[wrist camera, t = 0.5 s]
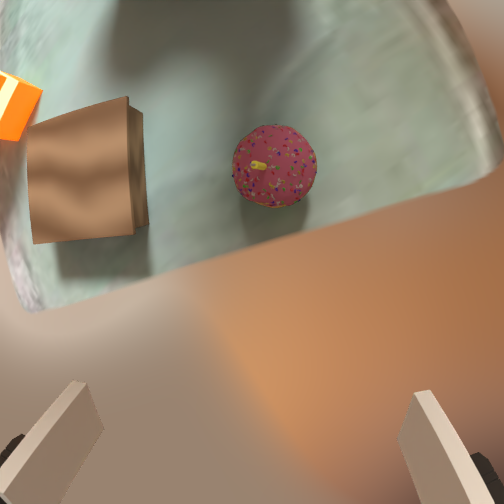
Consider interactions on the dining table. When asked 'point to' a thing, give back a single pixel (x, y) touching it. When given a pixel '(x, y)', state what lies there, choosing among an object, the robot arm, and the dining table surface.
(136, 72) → the dining table surface
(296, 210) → the dining table surface
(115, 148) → the walnut riser
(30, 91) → the orange juice
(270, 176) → the cupcake
